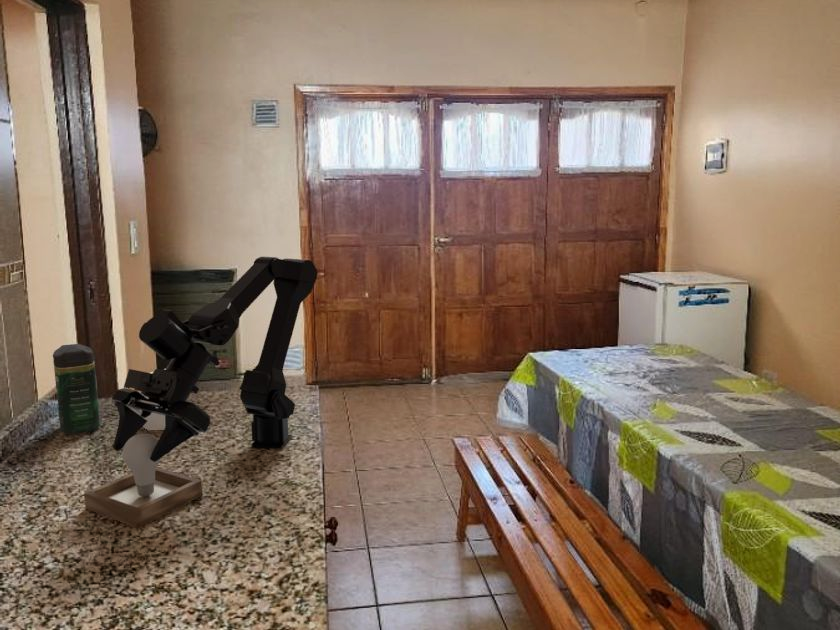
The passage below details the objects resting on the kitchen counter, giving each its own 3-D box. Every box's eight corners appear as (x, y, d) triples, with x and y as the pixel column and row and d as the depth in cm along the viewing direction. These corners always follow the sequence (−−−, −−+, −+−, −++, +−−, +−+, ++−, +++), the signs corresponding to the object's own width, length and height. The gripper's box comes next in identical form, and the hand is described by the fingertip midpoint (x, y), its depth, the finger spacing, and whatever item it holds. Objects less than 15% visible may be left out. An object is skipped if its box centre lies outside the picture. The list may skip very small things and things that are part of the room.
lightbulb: (172, 489, 116) (167, 428, 114) (155, 506, 110) (149, 442, 108) (138, 487, 117) (132, 427, 115) (119, 504, 111) (113, 441, 109)
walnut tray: (152, 479, 123) (150, 465, 122) (202, 495, 116) (201, 480, 116) (85, 509, 112) (83, 493, 111) (137, 528, 105) (135, 511, 105)
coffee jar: (103, 431, 147) (94, 348, 144) (62, 438, 143) (52, 353, 140) (98, 418, 155) (90, 339, 152) (59, 424, 151) (50, 343, 148)
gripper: (116, 342, 117) (62, 423, 110) (191, 355, 108) (138, 444, 100) (158, 375, 125) (110, 452, 118) (231, 390, 116) (184, 474, 109)
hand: (133, 455), depth 111 cm, fingers open, 9 cm apart
